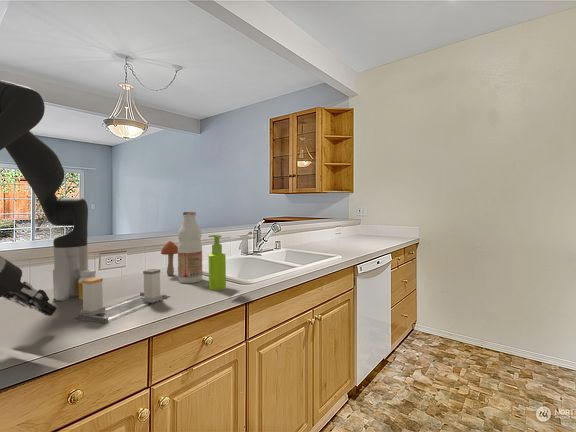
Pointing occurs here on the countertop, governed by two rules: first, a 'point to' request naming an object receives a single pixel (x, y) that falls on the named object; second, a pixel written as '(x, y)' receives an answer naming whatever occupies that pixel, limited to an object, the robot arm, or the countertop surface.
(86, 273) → the supplement bottle
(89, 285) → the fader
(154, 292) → the block
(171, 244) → the mushroom
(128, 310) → the grey flat plate
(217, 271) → the soap dispenser
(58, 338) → the countertop surface
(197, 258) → the fruit juice
